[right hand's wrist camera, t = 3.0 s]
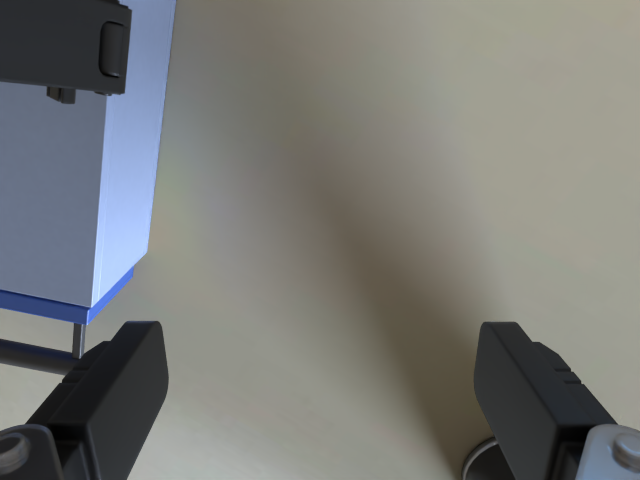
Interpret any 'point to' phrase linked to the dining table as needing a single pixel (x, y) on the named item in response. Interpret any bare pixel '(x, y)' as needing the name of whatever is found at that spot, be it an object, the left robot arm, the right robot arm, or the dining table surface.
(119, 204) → the cabinet
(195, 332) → the dining table surface
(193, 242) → the dining table surface
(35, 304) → the drawer
